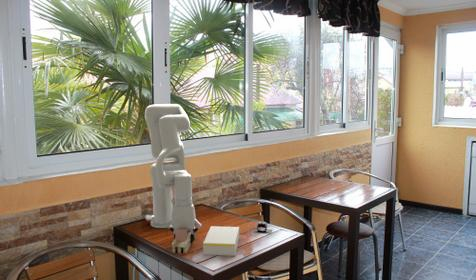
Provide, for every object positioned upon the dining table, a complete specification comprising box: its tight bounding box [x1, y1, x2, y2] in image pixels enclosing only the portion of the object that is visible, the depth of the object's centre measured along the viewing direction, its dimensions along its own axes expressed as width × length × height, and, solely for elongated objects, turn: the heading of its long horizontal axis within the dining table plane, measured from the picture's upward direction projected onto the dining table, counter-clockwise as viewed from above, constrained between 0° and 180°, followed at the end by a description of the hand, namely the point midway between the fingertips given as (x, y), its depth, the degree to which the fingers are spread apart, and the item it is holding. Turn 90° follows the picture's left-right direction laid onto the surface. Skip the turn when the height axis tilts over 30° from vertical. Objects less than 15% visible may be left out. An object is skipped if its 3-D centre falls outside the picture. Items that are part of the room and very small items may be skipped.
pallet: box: [171, 226, 197, 254], centre depth 175 cm, size 6×20×4 cm, turn 175°
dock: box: [202, 225, 240, 257], centre depth 172 cm, size 13×20×5 cm, turn 175°
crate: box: [175, 229, 187, 242], centre depth 169 cm, size 4×4×4 cm
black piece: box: [251, 221, 274, 234], centre depth 191 cm, size 12×7×5 cm, turn 76°
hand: (184, 241), depth 175 cm, fingers closed on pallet, 6 cm apart
